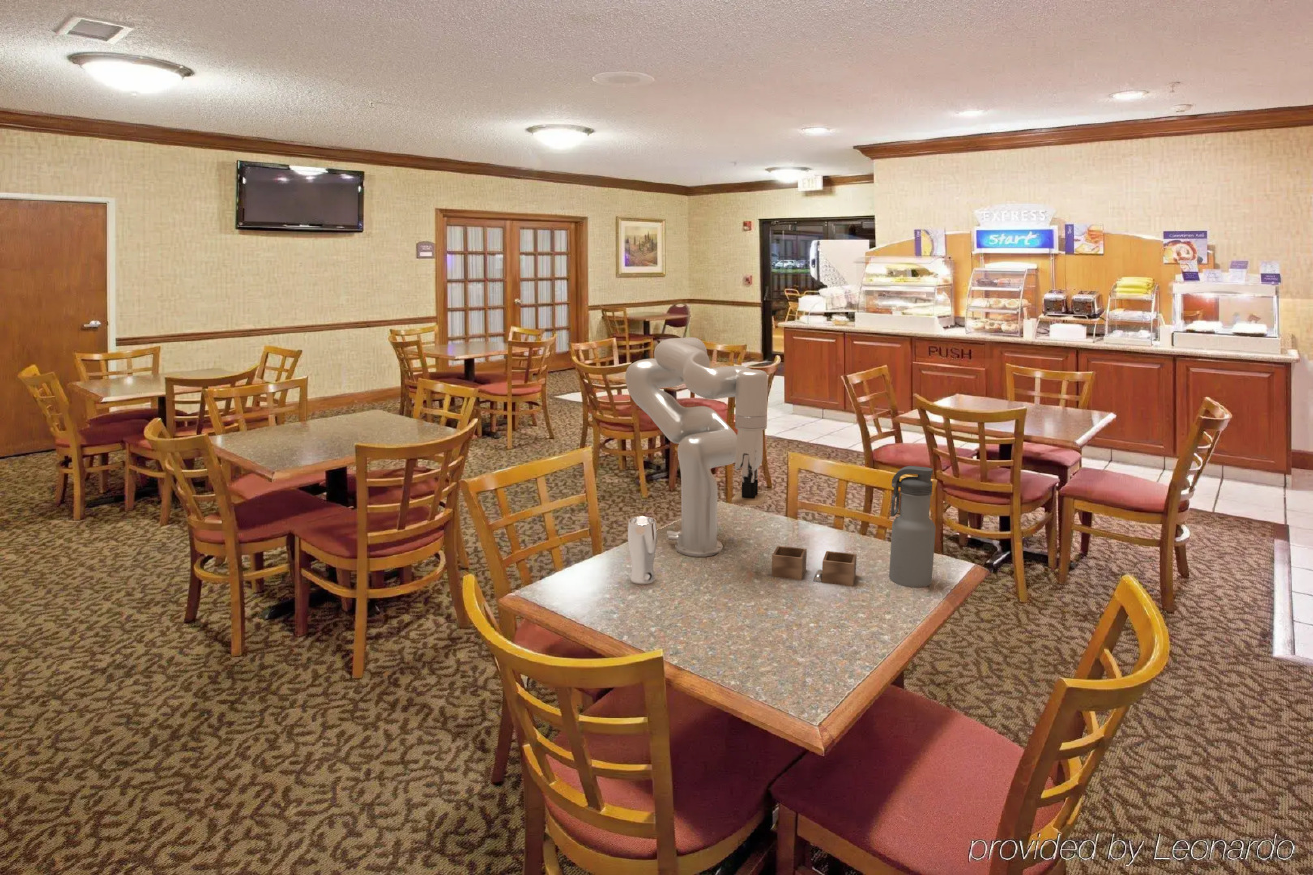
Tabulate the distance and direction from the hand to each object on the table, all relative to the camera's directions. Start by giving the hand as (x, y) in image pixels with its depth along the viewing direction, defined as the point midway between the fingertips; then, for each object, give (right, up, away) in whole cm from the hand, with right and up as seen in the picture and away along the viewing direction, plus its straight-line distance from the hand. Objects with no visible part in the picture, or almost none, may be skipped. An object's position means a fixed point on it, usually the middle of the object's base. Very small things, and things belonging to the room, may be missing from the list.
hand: (749, 495), depth 193 cm
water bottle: (+38, -21, -2) cm, 43 cm away
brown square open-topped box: (+21, -20, -2) cm, 29 cm away
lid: (0, -1, 0) cm, 1 cm away
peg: (+16, -19, -1) cm, 25 cm away
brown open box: (+10, -20, +2) cm, 22 cm away
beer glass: (-26, -20, -1) cm, 33 cm away
